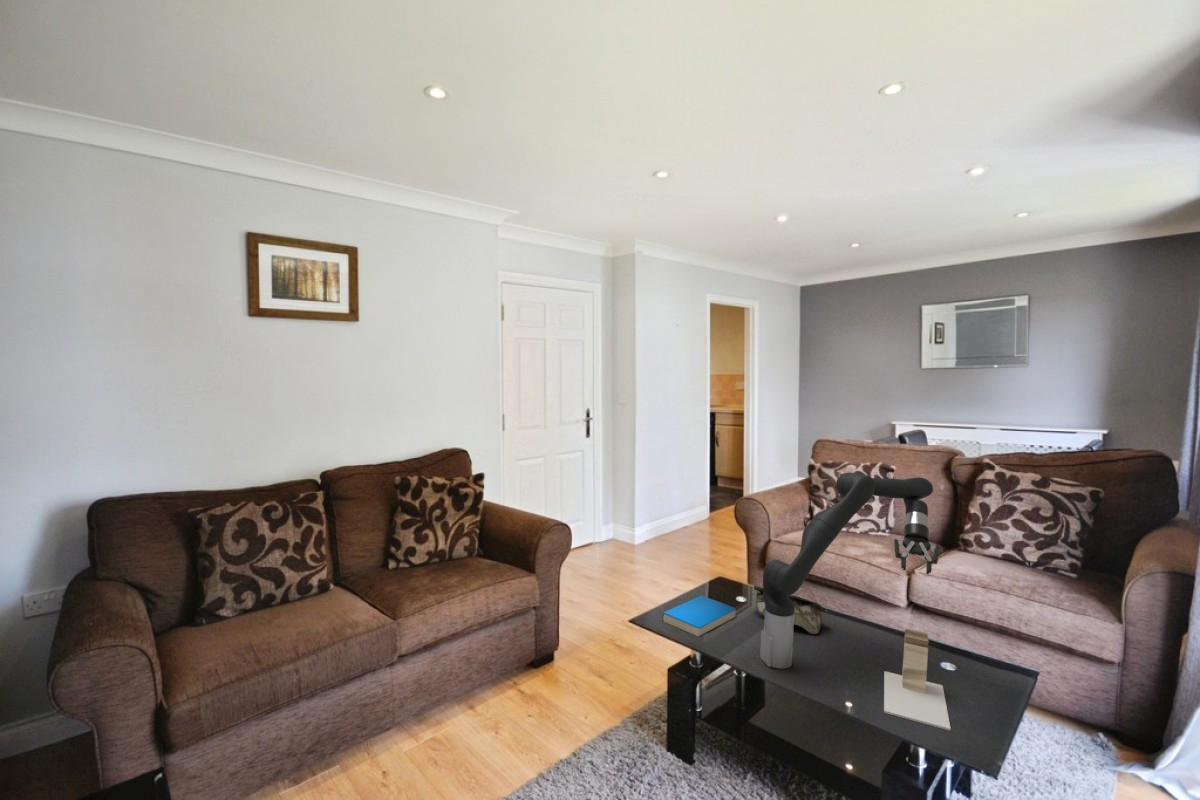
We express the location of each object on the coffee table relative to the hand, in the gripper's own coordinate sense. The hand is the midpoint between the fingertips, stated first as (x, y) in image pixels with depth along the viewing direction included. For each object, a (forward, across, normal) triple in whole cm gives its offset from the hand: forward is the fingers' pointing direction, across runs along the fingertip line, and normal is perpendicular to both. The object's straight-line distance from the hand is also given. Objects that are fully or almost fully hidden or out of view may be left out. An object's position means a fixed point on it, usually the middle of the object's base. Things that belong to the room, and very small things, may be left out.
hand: (916, 571), depth 185 cm
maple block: (+35, 0, +7) cm, 36 cm away
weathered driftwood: (+16, -42, +28) cm, 52 cm away
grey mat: (+40, 0, +3) cm, 40 cm away
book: (+27, -72, +16) cm, 78 cm away
